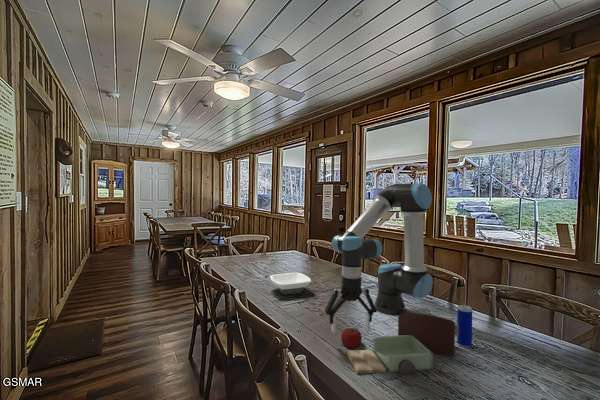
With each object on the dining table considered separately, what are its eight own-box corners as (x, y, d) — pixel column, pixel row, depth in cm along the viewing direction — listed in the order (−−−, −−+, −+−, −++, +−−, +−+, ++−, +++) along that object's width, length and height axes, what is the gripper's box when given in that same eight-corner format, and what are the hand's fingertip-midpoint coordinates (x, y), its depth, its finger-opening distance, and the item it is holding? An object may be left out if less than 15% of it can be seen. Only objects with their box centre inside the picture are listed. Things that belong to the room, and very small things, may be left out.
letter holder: (454, 357, 109) (455, 319, 109) (397, 348, 116) (398, 312, 116) (450, 344, 119) (451, 309, 118) (398, 336, 125) (398, 303, 125)
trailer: (371, 350, 114) (371, 334, 114) (408, 347, 116) (409, 332, 116) (393, 379, 96) (393, 360, 96) (436, 375, 98) (436, 357, 98)
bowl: (314, 295, 176) (314, 281, 175) (277, 300, 167) (277, 285, 167) (300, 284, 196) (300, 271, 196) (266, 288, 188) (266, 275, 187)
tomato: (362, 343, 120) (362, 325, 119) (360, 353, 112) (360, 334, 112) (342, 340, 122) (342, 322, 122) (339, 350, 114) (339, 331, 114)
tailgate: (373, 352, 111) (345, 353, 110) (373, 349, 111) (345, 350, 109) (388, 373, 99) (357, 373, 97) (389, 369, 99) (357, 370, 97)
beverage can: (458, 340, 122) (459, 303, 122) (472, 344, 119) (473, 306, 119) (455, 344, 118) (456, 307, 118) (470, 349, 115) (471, 310, 115)
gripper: (322, 279, 111) (321, 336, 111) (386, 278, 114) (384, 333, 115) (318, 274, 118) (317, 328, 118) (378, 273, 122) (376, 325, 122)
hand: (350, 330), depth 116 cm, fingers open, 13 cm apart
